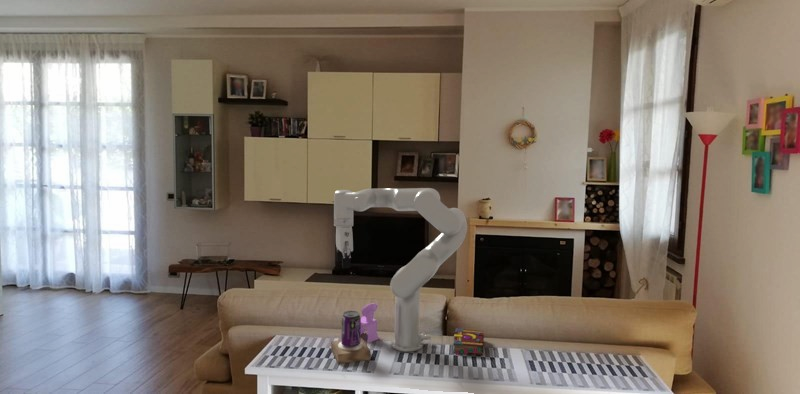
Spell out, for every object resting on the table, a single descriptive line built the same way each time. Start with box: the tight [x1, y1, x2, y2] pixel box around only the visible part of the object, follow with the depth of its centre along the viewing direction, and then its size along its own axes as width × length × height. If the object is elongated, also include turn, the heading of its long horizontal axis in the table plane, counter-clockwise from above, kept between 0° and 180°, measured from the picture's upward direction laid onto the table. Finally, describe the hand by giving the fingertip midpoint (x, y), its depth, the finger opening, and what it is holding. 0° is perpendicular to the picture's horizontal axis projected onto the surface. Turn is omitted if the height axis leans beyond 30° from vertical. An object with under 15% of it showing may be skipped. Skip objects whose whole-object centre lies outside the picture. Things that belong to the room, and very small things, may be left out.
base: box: [330, 337, 371, 365], centre depth 201 cm, size 12×12×4 cm
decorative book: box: [452, 327, 485, 356], centre depth 209 cm, size 11×16×5 cm
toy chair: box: [360, 302, 380, 344], centre depth 216 cm, size 8×9×15 cm
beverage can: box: [340, 310, 362, 347], centre depth 200 cm, size 7×7×12 cm
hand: (343, 264), depth 212 cm, fingers open, 9 cm apart
